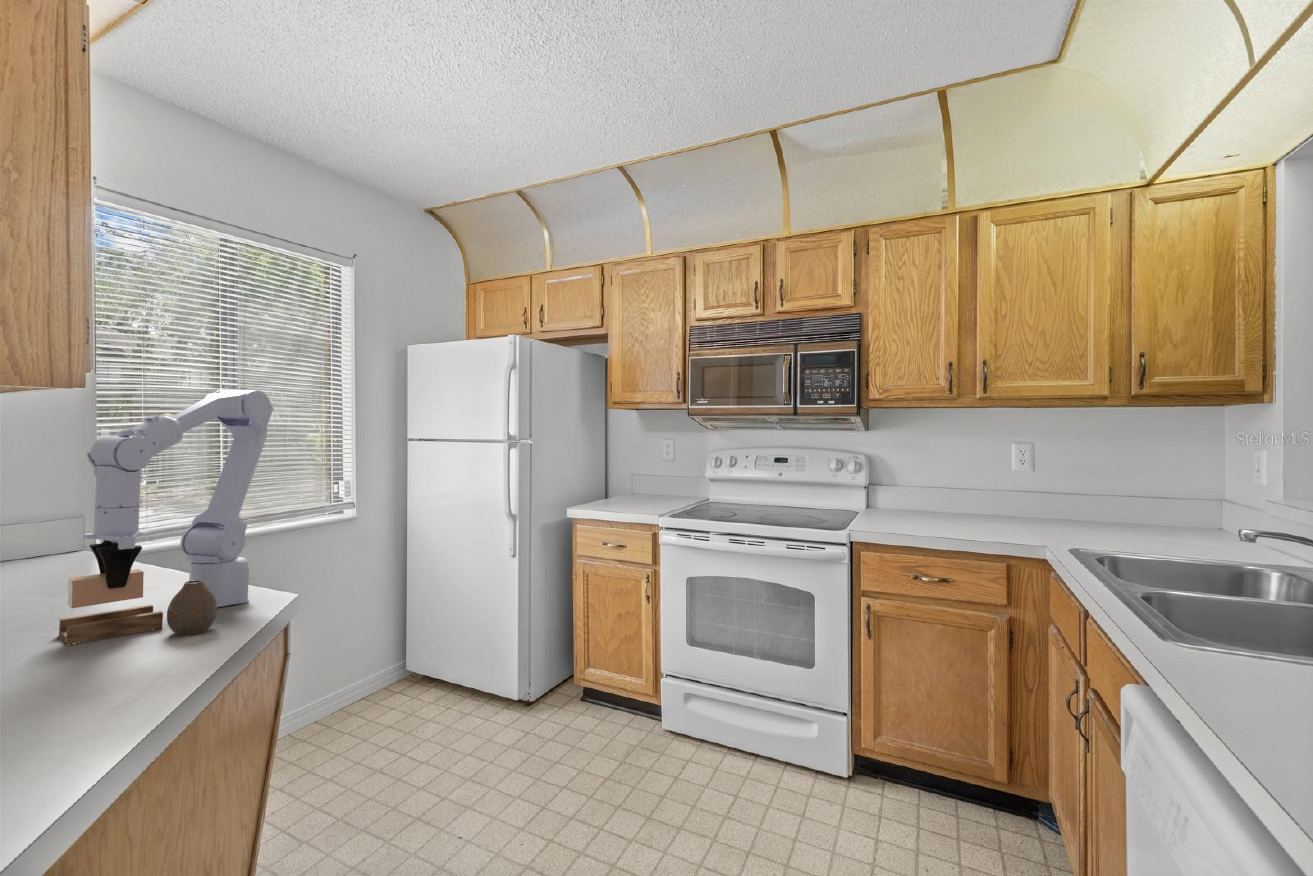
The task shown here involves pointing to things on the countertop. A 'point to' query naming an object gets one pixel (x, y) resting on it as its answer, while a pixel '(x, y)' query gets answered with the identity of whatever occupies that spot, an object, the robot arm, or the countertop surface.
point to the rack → (109, 624)
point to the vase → (192, 609)
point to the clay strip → (103, 589)
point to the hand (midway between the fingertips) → (114, 585)
